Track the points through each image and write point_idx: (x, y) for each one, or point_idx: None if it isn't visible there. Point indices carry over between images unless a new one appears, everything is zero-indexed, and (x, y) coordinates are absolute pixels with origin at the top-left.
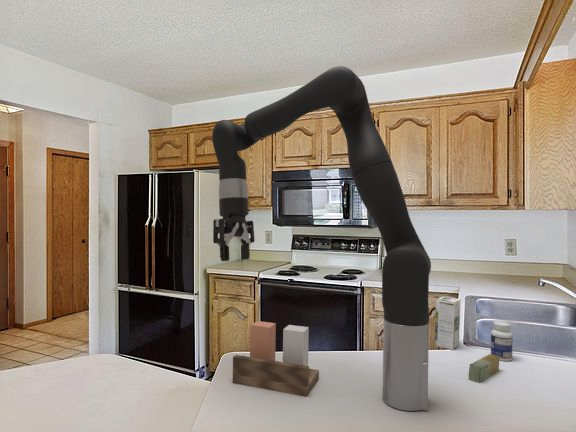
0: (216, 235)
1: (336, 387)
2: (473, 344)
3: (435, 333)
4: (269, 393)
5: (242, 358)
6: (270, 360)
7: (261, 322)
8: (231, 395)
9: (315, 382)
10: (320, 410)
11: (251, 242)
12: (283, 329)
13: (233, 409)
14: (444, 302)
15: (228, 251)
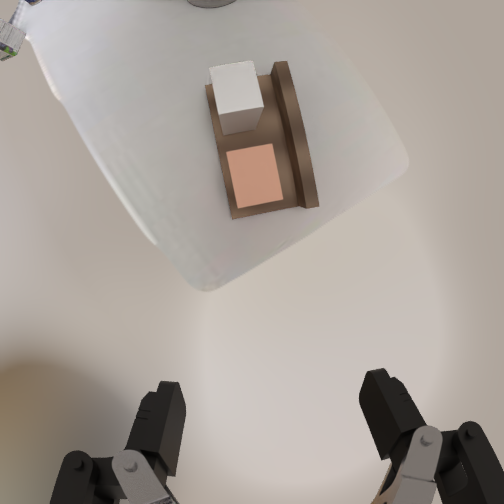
0: (454, 483)
1: (222, 57)
2: None
3: (7, 48)
4: None
5: (315, 185)
6: (293, 131)
7: (243, 189)
8: (340, 176)
9: None
10: (302, 51)
11: (93, 459)
12: (263, 106)
13: (367, 150)
14: None
15: (395, 403)
